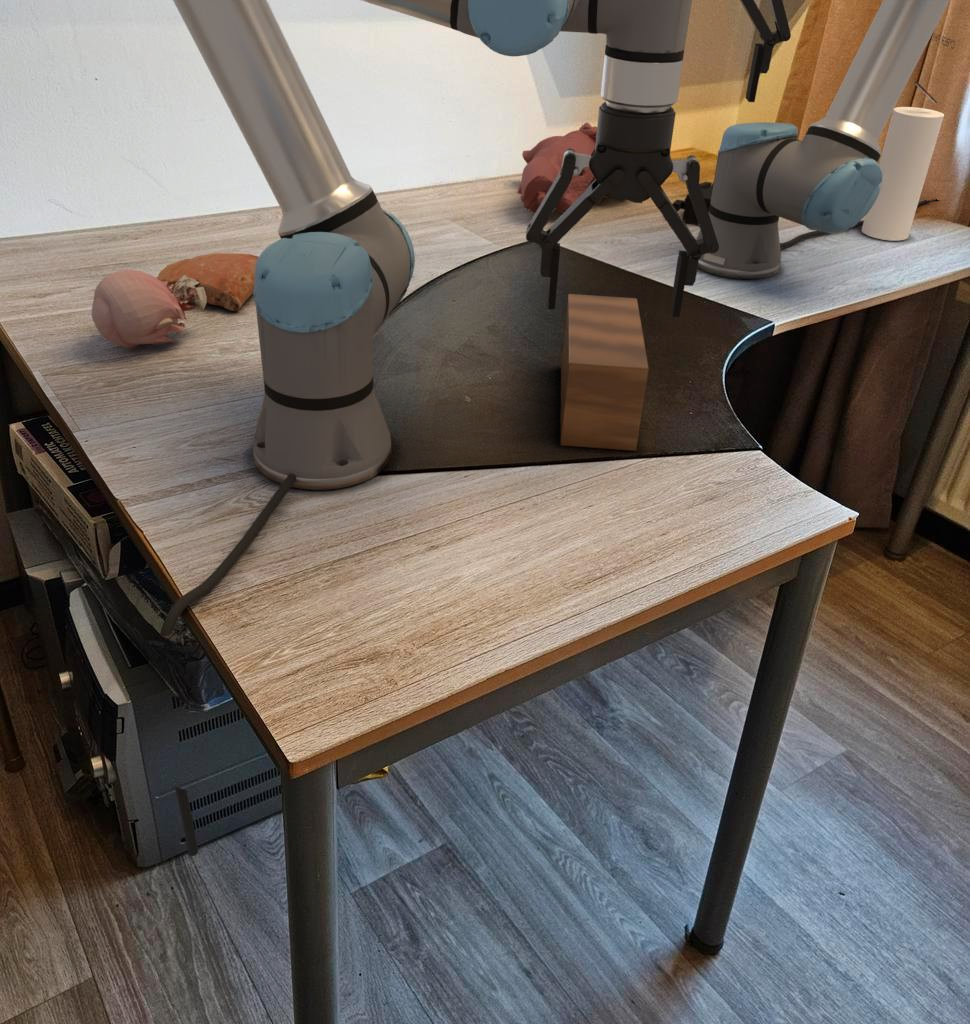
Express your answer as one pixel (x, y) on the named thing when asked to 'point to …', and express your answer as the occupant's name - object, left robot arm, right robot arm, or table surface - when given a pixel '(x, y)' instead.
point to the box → (602, 373)
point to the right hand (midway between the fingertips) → (697, 97)
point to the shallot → (143, 307)
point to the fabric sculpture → (556, 168)
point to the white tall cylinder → (903, 169)
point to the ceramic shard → (217, 277)
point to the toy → (687, 204)
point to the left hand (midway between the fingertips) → (613, 308)
